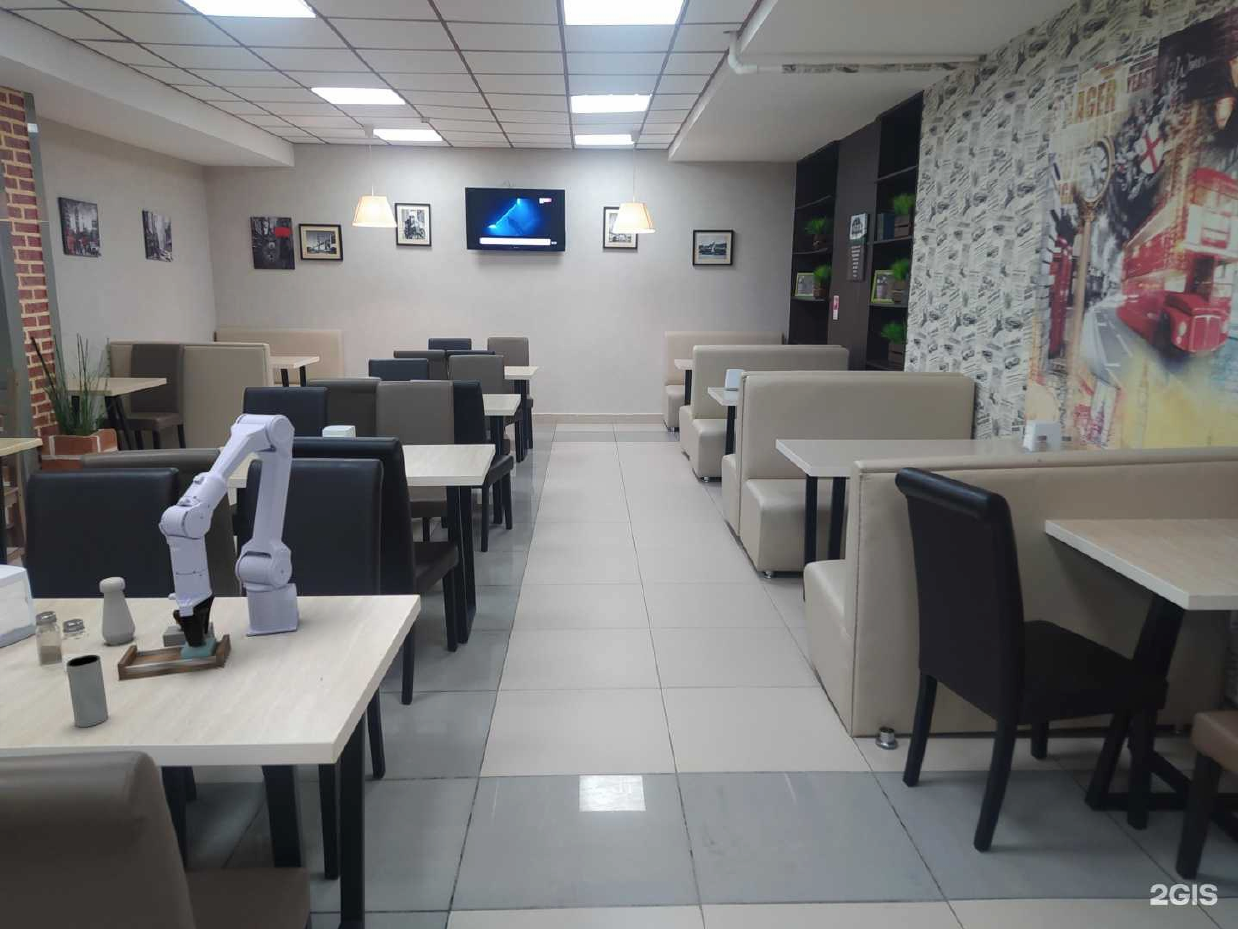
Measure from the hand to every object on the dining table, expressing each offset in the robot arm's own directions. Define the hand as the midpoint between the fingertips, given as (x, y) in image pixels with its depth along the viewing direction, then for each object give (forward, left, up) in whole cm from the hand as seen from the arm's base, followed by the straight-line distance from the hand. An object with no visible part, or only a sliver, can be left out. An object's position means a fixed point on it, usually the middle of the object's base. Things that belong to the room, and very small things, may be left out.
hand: (198, 639), depth 155 cm
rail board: (+4, 0, -4) cm, 6 cm away
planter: (+13, +20, -4) cm, 24 cm away
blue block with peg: (0, 0, -3) cm, 3 cm away
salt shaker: (+18, -16, -4) cm, 24 cm away
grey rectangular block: (+4, -9, -4) cm, 11 cm away
